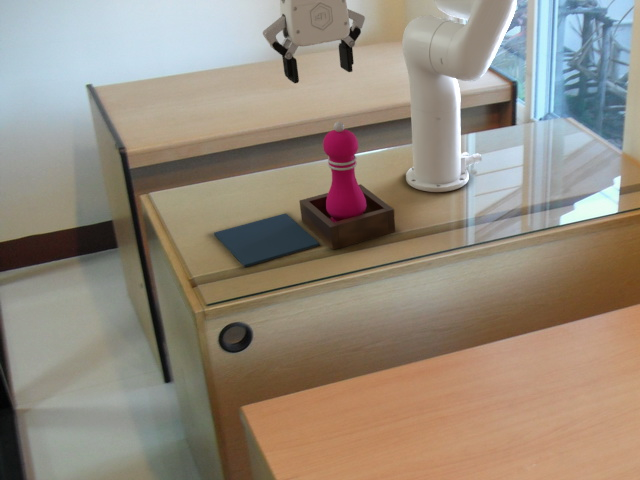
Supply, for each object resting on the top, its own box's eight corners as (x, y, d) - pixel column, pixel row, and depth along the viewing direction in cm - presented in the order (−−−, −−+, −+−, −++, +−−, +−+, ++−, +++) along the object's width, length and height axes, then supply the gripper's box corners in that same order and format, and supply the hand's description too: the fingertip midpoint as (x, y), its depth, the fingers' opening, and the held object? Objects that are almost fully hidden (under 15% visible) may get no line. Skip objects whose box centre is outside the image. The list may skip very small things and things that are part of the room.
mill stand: (362, 205, 179) (360, 184, 177) (395, 231, 171) (394, 209, 168) (301, 222, 173) (299, 200, 171) (332, 250, 165) (330, 227, 162)
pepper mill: (371, 219, 175) (363, 115, 163) (363, 237, 169) (354, 131, 157) (333, 216, 175) (323, 113, 163) (324, 235, 169) (312, 128, 158)
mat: (286, 215, 175) (285, 213, 175) (319, 245, 166) (319, 243, 166) (214, 235, 169) (213, 232, 169) (244, 267, 160) (244, 264, 159)
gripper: (265, -22, 138) (280, 92, 149) (369, -37, 146) (377, 72, 157) (246, -33, 143) (262, 78, 154) (347, -47, 151) (356, 59, 161)
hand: (320, 75), depth 155 cm, fingers open, 9 cm apart
